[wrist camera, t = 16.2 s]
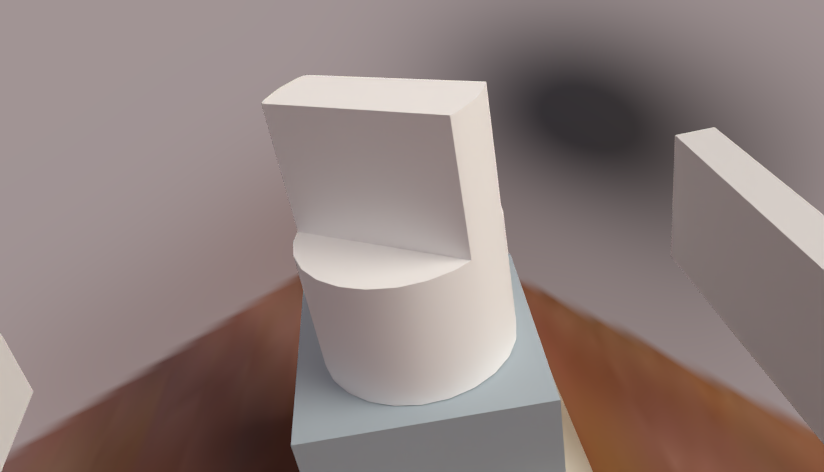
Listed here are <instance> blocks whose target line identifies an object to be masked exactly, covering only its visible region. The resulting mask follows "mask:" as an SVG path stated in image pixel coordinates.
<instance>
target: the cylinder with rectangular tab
mask: <svg viewBox="0 0 824 472" xmlns="http://www.w3.org/2000/svg"><path fill="white" fill-rule="evenodd" d="M261 104H262V108H263V111H264V114H265V118H266V122H267V125H268V129H269V132H270V136H271V139H272V143H273V146H274V150H275V154H276V157H277V160H278V164H279V168H280V171H281V175H282V178H283V182H284V185H285V189H286V192H287V196H288V199H289V203H290V206H291V210H292V213H293V217H294V220H295V224H296V227H297V231H298V232H297V234H296V237H295V239H294V241H293V256H294V260H295V263H296V266H297V270H298V273H299V277H300V280H301V283H302V287H303V290H304V294H305V297H306V300H307V304H308V307H309V311H310V314H311V318H312V321H313V324H314V328H315V331H316V335H317V338H318V341H319V345H320V348H321V352H322V355H323V358H324V362H325V365H326V367H327V369H328V371H329V373H330V375H331V377H332V378H333V380H334V381H335V382H336V383H337V384H338V385H340V386H341V387H342V388H343V389H344V390H345V391H347V392H348V393H350V394H352V395H354V396H357V397H359V398H361V399H364V400H366V401H368V402H373V403H379V404H385V405H391V406H407V405H424V404H428V403H433V402H437V401H441V400H446V399H450V398H452V397H455V396H457V395H459V394H461V393H464V392H466V391H468V390H471V389H473V388H475V387H476V386H478V385H479V384H481V383H482V382H483V381H485V380H486V379H488V378H489V377H490V376H492V375H493V374H495V373H496V372H497V370H498V369H499V368H500V367H501V366H502V364H503V363H504V362H505V361H506V360H507V359H508V357H509V356H510V353H511V351H512V349H513V346H514V344H515V341H516V316H515V307H514V299H513V290H512V282H511V273H510V265H509V256H508V248H507V240H506V231H505V223H504V214H503V209H502V207H501V202H500V193H499V185H498V177H497V168H496V160H495V152H494V144H493V135H492V126H491V118H490V110H489V101H488V93H487V85H486V82H480V81H478V82H477V81H452V80H427V79H399V78H373V77H346V76H318V75H304V76H302V77H299V78H297V79H295V80H293V81H291V82H289V83H288V84H286V85H284V86H282V87H280V88H278V89H277V90H276V91H275V92H273V93H272V94H271V95H270V96H268V97H267V98H266V99H264V100H263V102H262V103H261Z"/></svg>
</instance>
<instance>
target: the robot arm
mask: <svg viewBox="0 0 824 472" xmlns="http://www.w3.org/2000/svg"><path fill="white" fill-rule="evenodd" d="M674 155H675V156H674V181H673V182H674V183H673V210H672V237H671V239H672V240H671V257H672V259H673V260H674V261H675V262H676V263H677V265H678V266H679V267H680V268H681V269H682V271H683V272H684V273H685V274H686V276H687V277H688V278H689V279H690V280H691V282H692V283H693V284H694V286H695V287H696V288H697V289H698V290H699V292H700V293H701V294H702V295H703V296H704V298H705V299H706V300H707V301H708V303H709V304H710V305H711V306H712V308H713V309H714V310H715V311H716V313H717V314H718V315H719V316H720V317H721V318H722V320H723V321H724V322H725V323H726V325H727V326H728V327H729V328H730V330H731V331H732V332H733V333H734V335H735V336H736V337H737V338H738V339H739V341H740V342H741V343H742V344H743V346H744V347H745V348H746V349H747V351H748V352H749V353H750V354H751V355H752V357H753V358H754V359H755V360H756V362H757V363H758V364H759V365H760V366H761V368H762V369H763V370H764V371H765V373H766V374H767V375H768V376H769V378H770V379H771V380H772V381H773V382H774V384H775V385H776V386H777V387H778V389H779V390H780V391H781V392H782V393H783V395H784V396H785V397H786V398H787V399H788V401H789V402H790V403H791V404H792V406H793V407H794V408H795V409H796V411H797V412H798V413H799V414H800V415H801V417H802V418H803V419H804V420H805V422H806V423H807V424H808V425H809V427H810V428H811V429H812V430H813V431H814V433H815V434H816V435H817V436H818V438H819V439H820V440H821V441H822V443H823V444H824V215H823V214H822V213H820V212H819V211H818V210H817V209H815V208H814V207H813V206H812V205H810V204H809V203H808V202H807V201H805V200H804V199H803V198H801V197H800V196H799V195H798V194H797V193H795V192H794V191H793V190H792V189H791V188H789V187H788V186H787V185H785V184H784V183H783V182H782V181H781V180H779V179H778V178H777V177H776V176H774V175H773V174H772V173H771V172H769V171H768V170H767V169H765V168H764V167H763V166H762V165H761V164H759V163H758V162H757V161H756V160H754V159H753V158H752V157H751V156H750V155H748V154H747V153H746V152H745V151H743V150H742V149H741V148H740V147H738V146H737V145H736V144H735V143H733V142H732V141H731V140H730V139H728V138H727V137H726V136H725V135H723V134H722V133H721V132H720V131H718V130H717V129H716V128H715V127H713V128H708V129H703V130H699V131H693V132H689V133H684V134H679V135H675V154H674ZM32 394H33V390H32V389H31V387H30V385H29V383H28V381H27V379H26V378H25V376H24V374H23V372H22V370H21V369H20V367H19V365H18V363H17V362H16V360H15V358H14V356H13V354H12V353H11V351H10V349H9V347H8V345H7V344H6V342H5V340H4V338H3V337H2V335H1V333H0V472H1V471H2V468H3V466H4V463H5V461H6V458H7V456H8V453H9V451H10V448H11V446H12V443H13V441H14V439H15V436H16V433H17V431H18V429H19V426H20V423H21V421H22V418H23V416H24V414H25V411H26V409H27V406H28V404H29V401H30V399H31V396H32Z"/></svg>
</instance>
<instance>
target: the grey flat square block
mask: <svg viewBox="0 0 824 472" xmlns="http://www.w3.org/2000/svg"><path fill="white" fill-rule="evenodd" d="M508 256H509V265H510V273H511V282H512V290H513V299H514V307H515V316H516V341H515V344H514V346H513V349H512V351H511V353H510V356H509V357H508V359H507V360H506V361H505V362H504V363H503V364H502V366H501V367H500V368H499V369H498V370H497V372H496V373H495V374H493V375H492V376H490V377H489V378H488V379H486V380H485V381H483V382H482V383H481V384H479V385H478V386H476V387H475V388H473V389H471V390H468V391H466V392H464V393H461V394H459V395H457V396H455V397H452V398H450V399H446V400H441V401H437V402H433V403H428V404H424V405H407V406H391V405H385V404H379V403H373V402H368V401H366V400H364V399H361V398H359V397H357V396H354V395H352V394H350V393H348V392H347V391H345V390H344V389H343V388H342V387H341V386H340V385H338V384H337V383H336V382H335V381H334V380H333V378H332V377H331V375H330V373H329V371H328V369H327V367H326V365H325V362H324V358H323V355H322V352H321V348H320V345H319V341H318V338H317V335H316V331H315V328H314V324H313V321H312V318H311V314H310V311H309V307H308V304H307V300H306V297H305V294H304V290H303V302H302V314H301V326H300V339H299V351H298V363H297V376H296V388H295V400H294V413H293V425H292V437H291V448H292V450H293V453H294V456H295V459H296V462H297V465H298V468H299V471H300V472H566V467H565V454H564V440H563V427H562V413H561V400H560V397H559V394H558V391H557V388H556V385H555V382H554V380H553V377H552V374H551V371H550V368H549V365H548V362H547V359H546V356H545V353H544V350H543V348H542V345H541V342H540V339H539V336H538V333H537V330H536V327H535V324H534V321H533V319H532V316H531V313H530V310H529V307H528V304H527V301H526V298H525V295H524V292H523V290H522V287H521V284H520V281H519V278H518V275H517V272H516V269H515V266H514V263H513V260H512V258H511V255H510V254H508Z"/></svg>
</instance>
